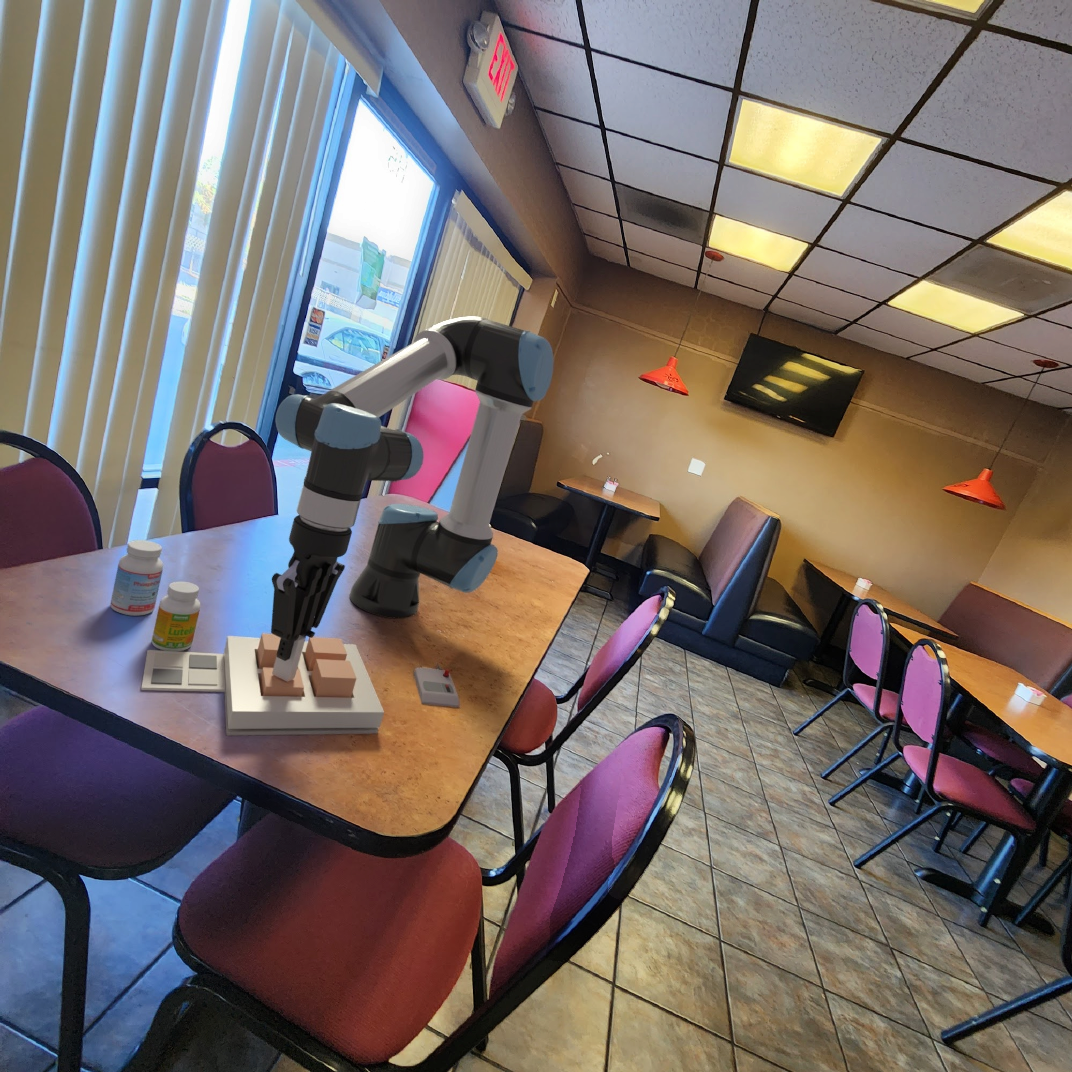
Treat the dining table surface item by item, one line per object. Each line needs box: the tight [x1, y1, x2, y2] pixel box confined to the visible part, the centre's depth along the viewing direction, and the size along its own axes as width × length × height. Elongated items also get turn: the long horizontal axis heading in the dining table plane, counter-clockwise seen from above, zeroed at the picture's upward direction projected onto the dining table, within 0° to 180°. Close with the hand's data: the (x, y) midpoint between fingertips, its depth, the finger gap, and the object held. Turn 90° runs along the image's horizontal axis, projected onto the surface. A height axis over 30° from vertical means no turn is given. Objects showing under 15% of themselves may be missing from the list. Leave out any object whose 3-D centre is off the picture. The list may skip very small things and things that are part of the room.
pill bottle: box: [110, 539, 164, 617], centre depth 95 cm, size 6×6×11 cm
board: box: [222, 635, 385, 736], centre depth 88 cm, size 20×20×4 cm
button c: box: [311, 659, 357, 698], centre depth 87 cm, size 5×5×3 cm
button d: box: [304, 636, 347, 671], centre depth 92 cm, size 5×5×3 cm
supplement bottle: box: [151, 581, 201, 652], centre depth 89 cm, size 5×5×10 cm
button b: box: [257, 632, 281, 669], centre depth 89 cm, size 5×5×3 cm
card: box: [140, 649, 225, 693], centre depth 85 cm, size 10×10×1 cm
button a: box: [259, 667, 304, 697], centre depth 83 cm, size 5×5×3 cm
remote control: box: [413, 662, 460, 708], centre depth 104 cm, size 7×16×3 cm, turn 20°
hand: (283, 676), depth 83 cm, fingers closed
